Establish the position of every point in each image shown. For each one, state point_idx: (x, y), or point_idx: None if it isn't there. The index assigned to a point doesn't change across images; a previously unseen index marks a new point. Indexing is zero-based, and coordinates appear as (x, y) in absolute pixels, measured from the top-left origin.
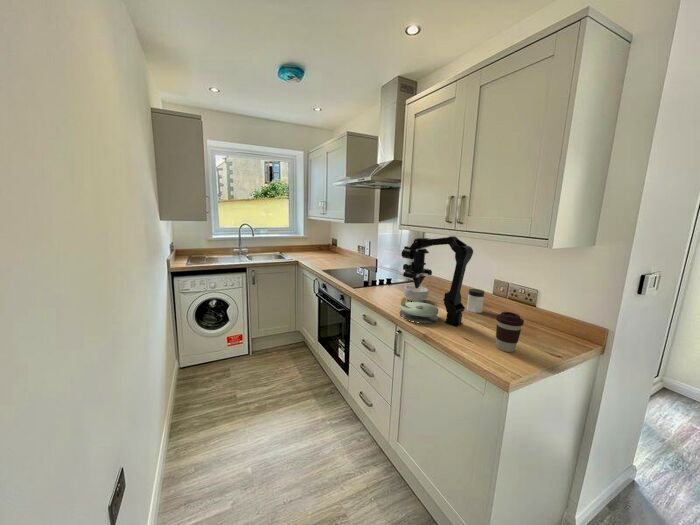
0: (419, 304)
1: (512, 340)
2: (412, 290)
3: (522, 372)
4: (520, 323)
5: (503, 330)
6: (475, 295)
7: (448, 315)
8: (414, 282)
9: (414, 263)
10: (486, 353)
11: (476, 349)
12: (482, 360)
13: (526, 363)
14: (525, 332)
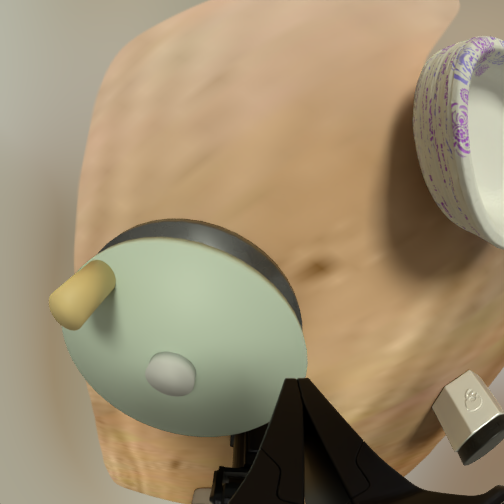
0: (187, 374)
1: None
2: (468, 146)
3: (154, 495)
4: None
5: None
6: (460, 452)
7: (244, 449)
8: (257, 455)
9: None
10: (155, 479)
11: (151, 472)
12: (125, 474)
13: (187, 500)
14: None
